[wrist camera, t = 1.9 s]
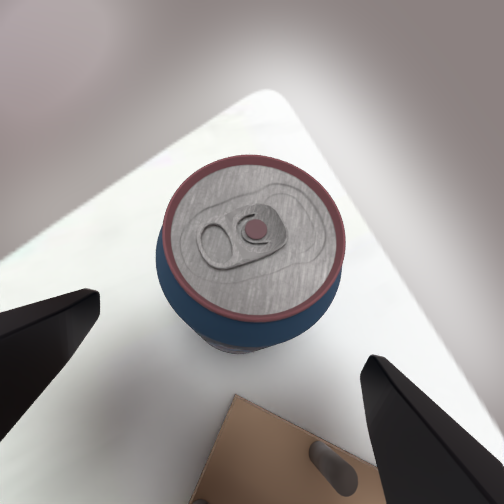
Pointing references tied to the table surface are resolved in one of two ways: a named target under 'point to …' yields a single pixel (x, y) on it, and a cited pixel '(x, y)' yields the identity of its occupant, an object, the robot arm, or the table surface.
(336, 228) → the soda can
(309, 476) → the walnut cradle
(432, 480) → the robot arm
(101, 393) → the table surface
